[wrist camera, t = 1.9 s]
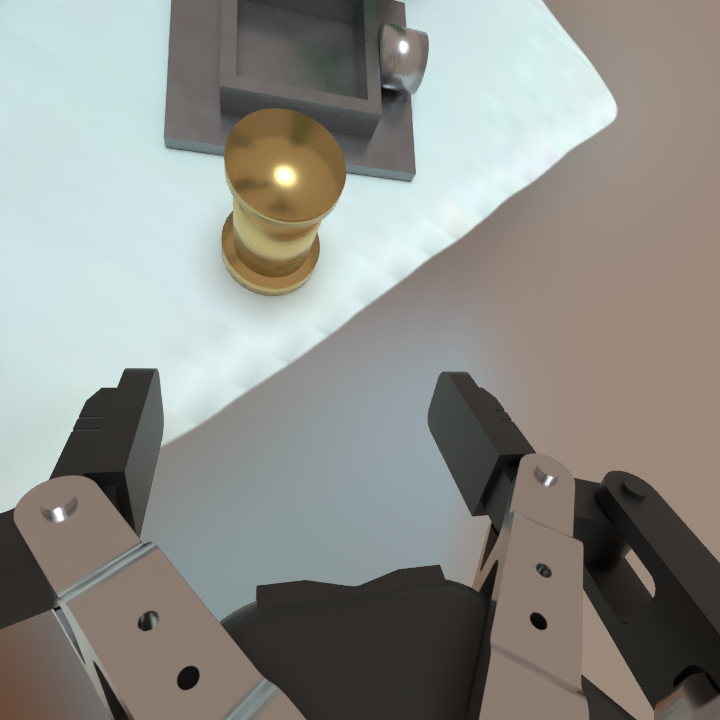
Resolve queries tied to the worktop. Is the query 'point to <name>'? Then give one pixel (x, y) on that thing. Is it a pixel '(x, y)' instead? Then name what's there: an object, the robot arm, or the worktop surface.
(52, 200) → the worktop surface
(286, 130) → the gold tall waisted piece
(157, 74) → the worktop surface
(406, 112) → the coupling base
